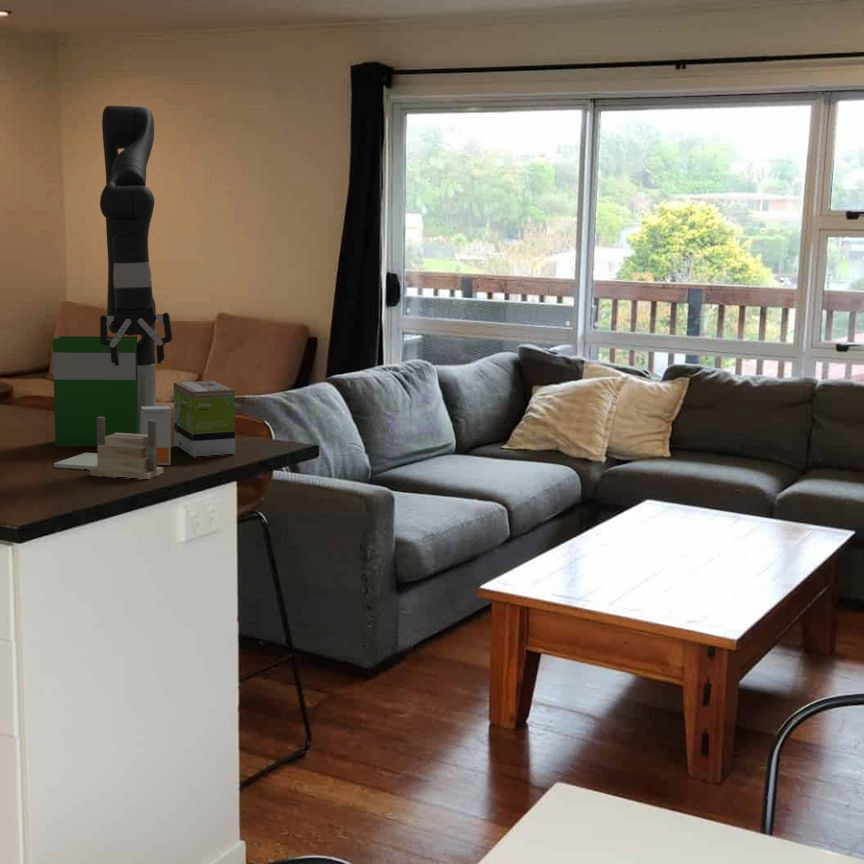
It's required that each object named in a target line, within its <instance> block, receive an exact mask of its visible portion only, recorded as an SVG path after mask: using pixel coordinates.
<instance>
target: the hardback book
mask: <svg viewBox="0 0 864 864" xmlns="http://www.w3.org/2000/svg"><path fill="white" fill-rule="evenodd" d="M114 336H115V335H113V336H108V339H109V340H112V339H113V338H114ZM137 342H138V336H123V337H122V338H121V339H120V341H119V342H118V344H117V347H118V352H119V366H115V363H112V361H111V350H110V347H109V346H106V345H102V344H101V343H100V335H99V336H97V335H94V336H91V335H90V336H89V335H88V336H87V335H85V336H84V335H56V336H55V337H53V338H52V362H53V363H52V365H53V366H52V367H53V370H52V371H53V404H54V406H53V407H54V410H53V411H54V412H53V413H54V440H55V441H54V445H55V447H97V417H105V436H108V435H111V434H114V433H128V434H138V375H137Z"/></svg>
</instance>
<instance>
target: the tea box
mask: <svg viewBox="0 0 864 864" xmlns="http://www.w3.org/2000/svg"><path fill="white" fill-rule="evenodd" d="M235 394H236V391H235V389H233V388H231V387H229V386H226V385H224V384H222V383H220V382H218V381H216V380H204V381H203V380H202V381H199V380H198V381H186V382H185V381H184V382H174V383H173V413H174V414H173V415H174V418H173V419H174V420H173V423H174V425H173V427H174V445H175V446H177V447H179V449H181V450H182V451H184V452H185V453H187V454H188V455H189V456H191V457H192V456H193V457H192V458H196V457H195V456H206V457H211V456H210V455H221V456H224V455H223V454H232V455H235V454H236V395H235Z"/></svg>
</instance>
